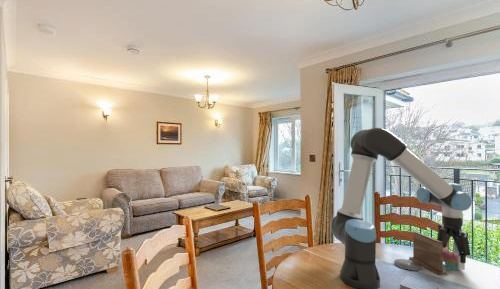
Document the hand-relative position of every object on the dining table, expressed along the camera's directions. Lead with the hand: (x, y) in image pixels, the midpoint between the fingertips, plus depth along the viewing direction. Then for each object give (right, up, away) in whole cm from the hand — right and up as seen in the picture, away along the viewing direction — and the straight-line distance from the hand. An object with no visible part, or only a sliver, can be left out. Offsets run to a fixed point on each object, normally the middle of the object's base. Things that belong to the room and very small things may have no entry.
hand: (452, 265), depth 121 cm
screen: (-11, -1, +1) cm, 11 cm away
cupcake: (0, -1, 0) cm, 2 cm away
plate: (-20, -1, +1) cm, 20 cm away
